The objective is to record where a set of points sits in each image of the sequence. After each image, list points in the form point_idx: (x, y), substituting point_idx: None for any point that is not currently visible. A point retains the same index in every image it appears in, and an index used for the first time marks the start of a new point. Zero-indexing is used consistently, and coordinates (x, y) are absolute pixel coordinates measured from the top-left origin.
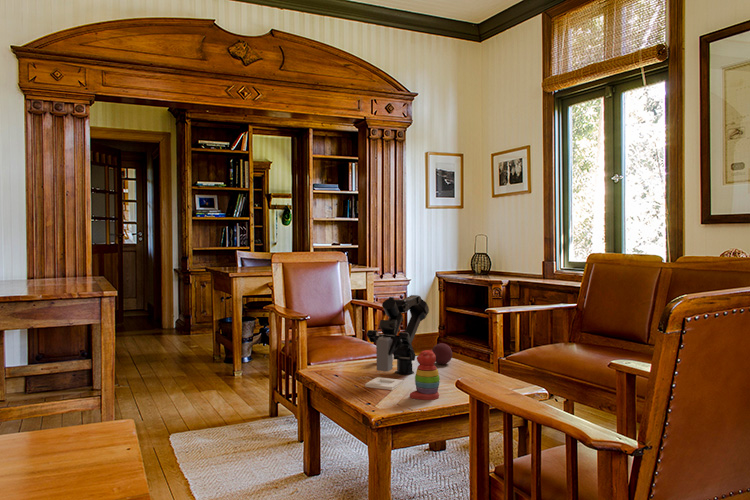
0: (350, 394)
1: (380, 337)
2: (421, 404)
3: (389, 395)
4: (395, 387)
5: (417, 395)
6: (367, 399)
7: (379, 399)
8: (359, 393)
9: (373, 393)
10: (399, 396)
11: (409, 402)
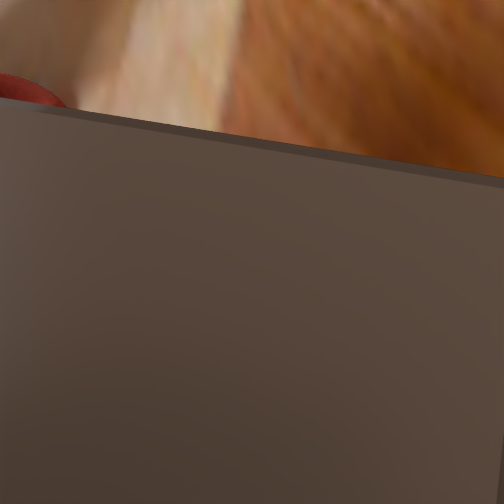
0: (482, 74)
1: (413, 472)
2: (6, 8)
3: (202, 118)
4: None
5: (9, 75)
6: (327, 8)
7: (252, 27)
8: (424, 112)
9: (322, 136)
10: (134, 114)
11: (70, 22)
